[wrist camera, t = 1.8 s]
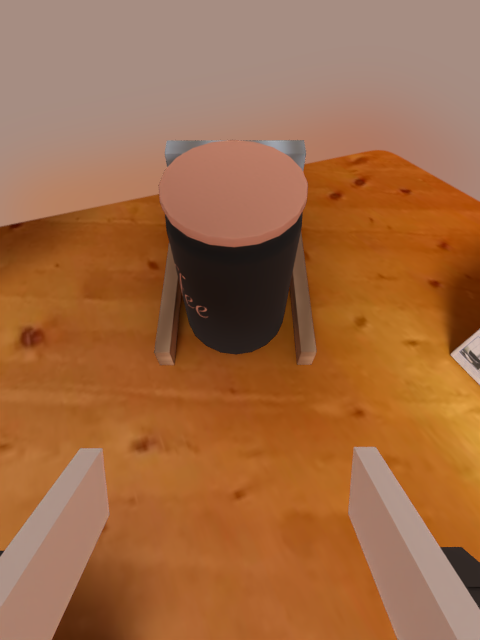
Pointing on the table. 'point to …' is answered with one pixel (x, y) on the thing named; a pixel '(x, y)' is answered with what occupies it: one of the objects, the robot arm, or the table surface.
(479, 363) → the light bulb box
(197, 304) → the coffee jar
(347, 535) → the table surface
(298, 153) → the channel
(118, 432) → the table surface
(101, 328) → the table surface
